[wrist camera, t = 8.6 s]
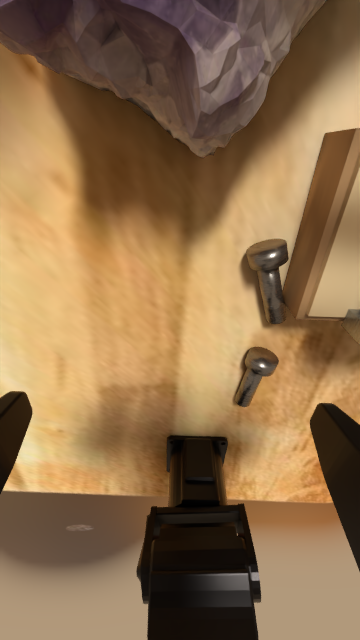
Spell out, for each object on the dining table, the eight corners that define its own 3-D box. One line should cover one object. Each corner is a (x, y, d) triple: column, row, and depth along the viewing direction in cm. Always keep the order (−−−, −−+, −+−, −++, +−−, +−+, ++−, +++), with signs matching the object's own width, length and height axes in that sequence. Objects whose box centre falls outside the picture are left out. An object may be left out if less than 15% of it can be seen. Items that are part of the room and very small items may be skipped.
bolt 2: (255, 399, 25) (255, 419, 23) (230, 391, 25) (228, 411, 23) (277, 351, 22) (280, 370, 20) (248, 344, 22) (248, 361, 20)
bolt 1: (288, 308, 20) (302, 325, 18) (257, 318, 20) (268, 335, 18) (277, 235, 17) (293, 245, 15) (242, 248, 18) (252, 259, 15)
